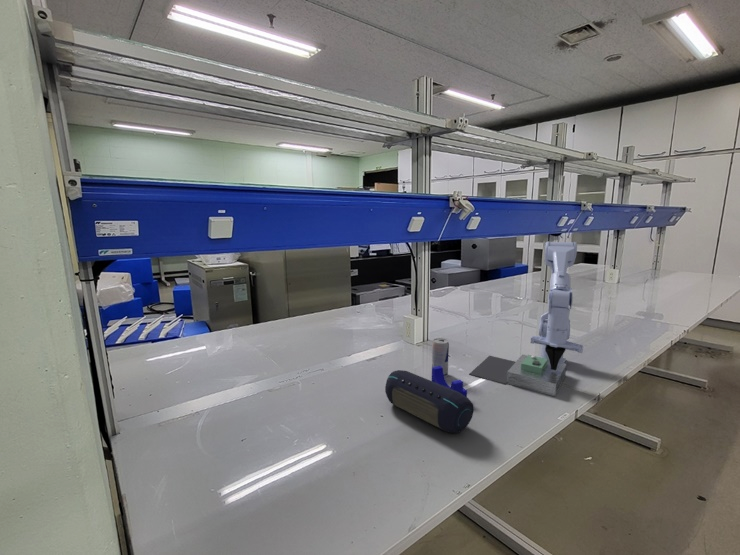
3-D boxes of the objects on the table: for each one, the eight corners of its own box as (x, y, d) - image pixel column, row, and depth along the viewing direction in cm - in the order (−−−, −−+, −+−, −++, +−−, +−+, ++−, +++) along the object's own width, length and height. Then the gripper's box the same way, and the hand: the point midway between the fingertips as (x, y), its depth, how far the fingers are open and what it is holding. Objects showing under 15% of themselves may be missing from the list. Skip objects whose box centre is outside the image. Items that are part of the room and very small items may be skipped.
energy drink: (449, 373, 120) (451, 339, 118) (444, 379, 115) (445, 344, 113) (434, 370, 122) (435, 337, 120) (429, 375, 118) (430, 341, 116)
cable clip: (466, 400, 102) (467, 381, 101) (453, 403, 101) (454, 383, 100) (443, 382, 113) (444, 365, 112) (431, 385, 112) (431, 367, 111)
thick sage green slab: (528, 360, 120) (528, 352, 120) (547, 364, 117) (547, 357, 116) (520, 369, 113) (521, 361, 113) (541, 374, 110) (541, 366, 109)
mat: (489, 356, 134) (489, 355, 134) (522, 363, 127) (522, 363, 127) (469, 374, 119) (469, 373, 118) (505, 384, 111) (505, 383, 111)
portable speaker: (378, 405, 100) (378, 372, 98) (402, 393, 106) (402, 362, 105) (454, 446, 82) (456, 406, 80) (476, 428, 88) (478, 391, 87)
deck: (521, 364, 126) (522, 354, 125) (565, 375, 118) (566, 364, 117) (506, 383, 112) (507, 371, 111) (554, 396, 104) (556, 384, 103)
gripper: (529, 326, 110) (526, 367, 112) (582, 335, 101) (578, 379, 104) (534, 321, 116) (531, 360, 118) (585, 329, 107) (581, 371, 109)
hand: (553, 368), depth 111 cm, fingers closed
